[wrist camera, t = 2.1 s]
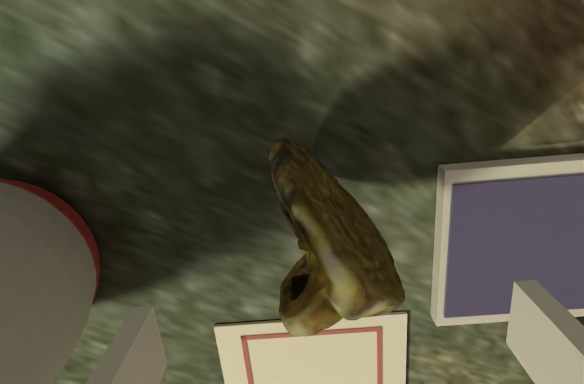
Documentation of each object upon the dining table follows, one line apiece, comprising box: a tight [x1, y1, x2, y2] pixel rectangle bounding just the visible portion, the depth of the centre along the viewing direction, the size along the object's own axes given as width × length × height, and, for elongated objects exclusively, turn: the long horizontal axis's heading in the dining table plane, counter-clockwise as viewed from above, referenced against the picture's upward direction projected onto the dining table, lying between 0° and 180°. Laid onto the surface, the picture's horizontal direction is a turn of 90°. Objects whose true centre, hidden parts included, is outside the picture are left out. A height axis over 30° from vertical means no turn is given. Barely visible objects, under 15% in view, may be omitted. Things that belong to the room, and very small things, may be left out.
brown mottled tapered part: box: [269, 136, 405, 337], centre depth 21 cm, size 9×5×15 cm, turn 49°
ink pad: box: [431, 153, 584, 326], centre depth 29 cm, size 13×14×2 cm
